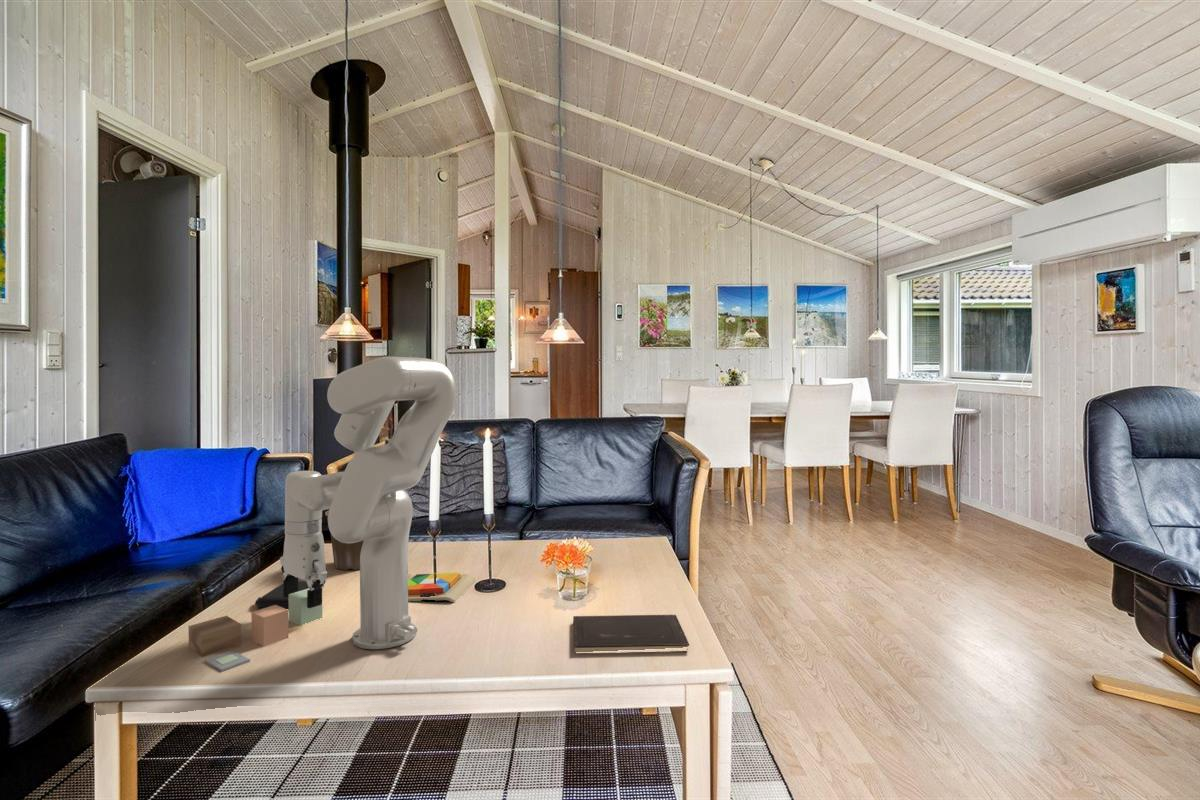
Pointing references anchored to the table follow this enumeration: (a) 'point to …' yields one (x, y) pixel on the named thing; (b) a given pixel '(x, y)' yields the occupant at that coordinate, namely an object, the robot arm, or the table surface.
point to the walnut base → (214, 635)
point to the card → (227, 660)
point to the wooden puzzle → (438, 586)
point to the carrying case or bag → (278, 597)
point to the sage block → (302, 608)
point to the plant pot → (346, 553)
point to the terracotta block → (269, 625)
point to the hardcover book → (627, 633)
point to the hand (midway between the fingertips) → (302, 600)
